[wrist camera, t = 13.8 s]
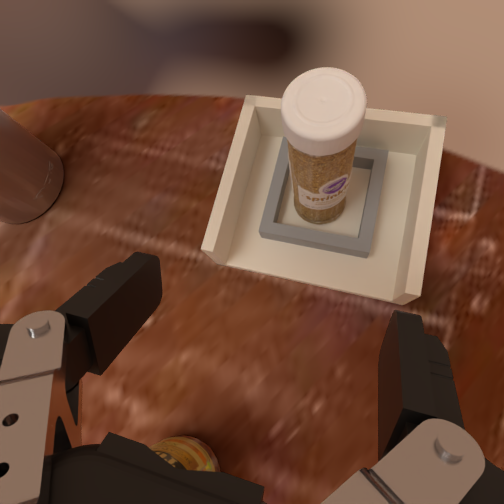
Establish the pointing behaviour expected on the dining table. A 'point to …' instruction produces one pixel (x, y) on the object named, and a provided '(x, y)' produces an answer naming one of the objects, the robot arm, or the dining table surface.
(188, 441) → the sauce bottle
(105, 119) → the dining table surface
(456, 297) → the dining table surface
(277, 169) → the caddy
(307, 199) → the sprinkles bottle
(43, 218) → the dining table surface
